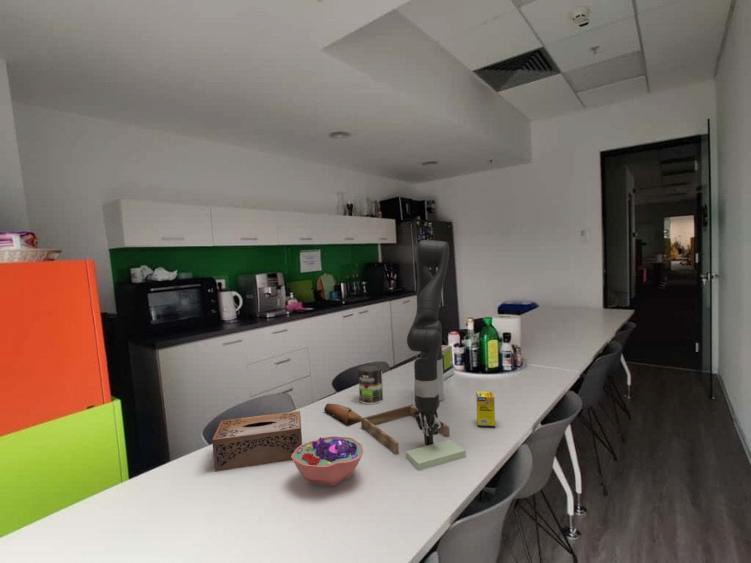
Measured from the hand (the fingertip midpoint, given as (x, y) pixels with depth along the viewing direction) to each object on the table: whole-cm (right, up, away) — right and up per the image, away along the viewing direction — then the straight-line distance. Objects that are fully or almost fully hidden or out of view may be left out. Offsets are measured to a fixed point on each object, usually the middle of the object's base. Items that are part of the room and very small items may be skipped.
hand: (429, 445), depth 125 cm
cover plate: (+1, -2, -5) cm, 6 cm away
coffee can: (-18, +1, +44) cm, 48 cm away
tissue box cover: (-54, -4, +3) cm, 54 cm away
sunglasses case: (-29, -1, +29) cm, 41 cm away
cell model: (-30, -4, -14) cm, 33 cm away
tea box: (+14, +4, +70) cm, 72 cm away
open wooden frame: (-7, -1, +12) cm, 14 cm away
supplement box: (+22, +1, +15) cm, 27 cm away
